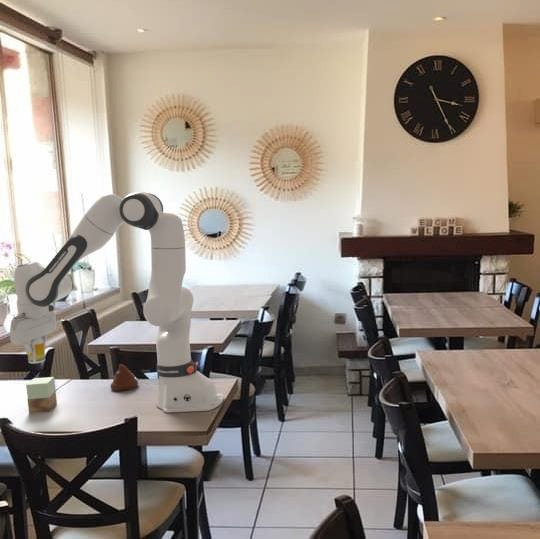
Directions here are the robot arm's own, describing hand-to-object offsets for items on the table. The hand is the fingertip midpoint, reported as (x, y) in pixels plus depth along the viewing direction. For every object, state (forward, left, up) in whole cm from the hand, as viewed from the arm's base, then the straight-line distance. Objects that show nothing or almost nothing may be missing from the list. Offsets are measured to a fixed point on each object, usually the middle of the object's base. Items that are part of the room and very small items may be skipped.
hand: (36, 350), depth 195 cm
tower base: (0, 0, -21) cm, 21 cm away
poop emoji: (-19, -23, -21) cm, 36 cm away
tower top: (0, 0, -16) cm, 16 cm away
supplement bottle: (0, 0, -4) cm, 4 cm away
